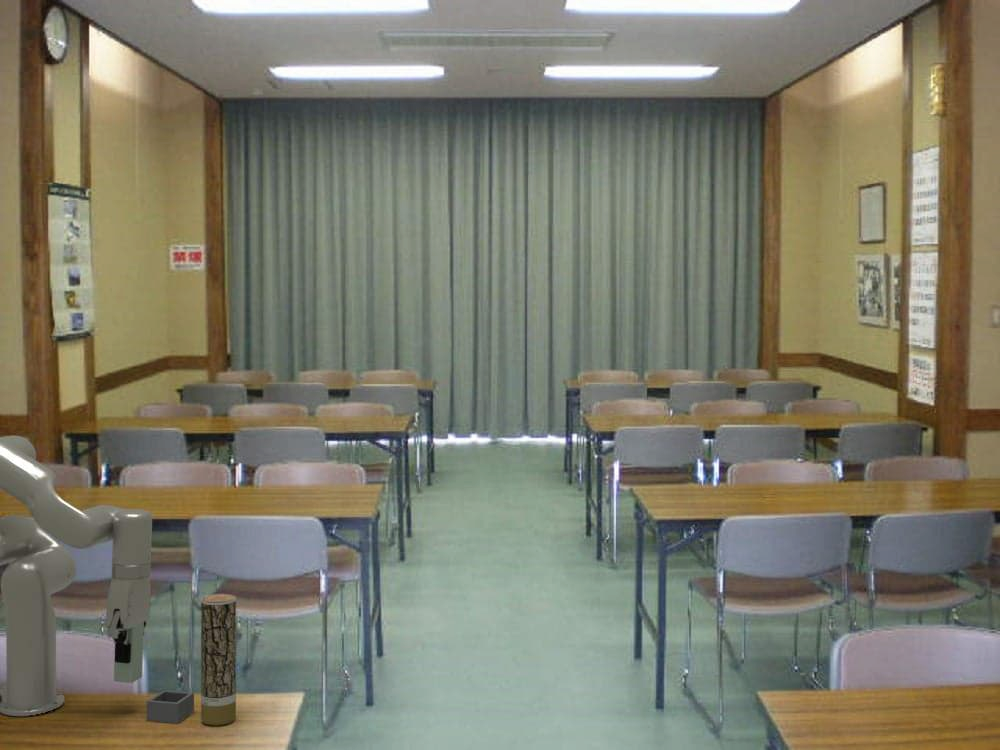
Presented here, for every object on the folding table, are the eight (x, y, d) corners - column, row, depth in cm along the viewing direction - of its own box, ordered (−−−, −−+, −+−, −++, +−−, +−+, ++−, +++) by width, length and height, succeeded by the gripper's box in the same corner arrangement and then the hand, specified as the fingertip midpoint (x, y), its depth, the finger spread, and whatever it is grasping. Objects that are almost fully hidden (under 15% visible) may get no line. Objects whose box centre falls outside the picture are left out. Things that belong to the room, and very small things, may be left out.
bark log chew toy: (226, 728, 219) (227, 603, 218) (195, 725, 220) (195, 601, 219) (241, 716, 226) (241, 595, 224) (210, 713, 227) (210, 593, 226)
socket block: (146, 720, 222) (146, 701, 222) (163, 709, 229) (163, 690, 229) (177, 723, 221) (177, 704, 221) (193, 712, 228) (193, 692, 228)
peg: (113, 681, 225) (115, 622, 224) (124, 675, 229) (126, 617, 228) (131, 683, 224) (133, 624, 224) (142, 677, 228) (143, 619, 228)
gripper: (135, 560, 234) (133, 645, 235) (91, 578, 218) (88, 669, 219) (168, 563, 233) (165, 649, 234) (126, 581, 216) (123, 673, 217)
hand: (128, 658), depth 226 cm, fingers closed on peg, 4 cm apart
